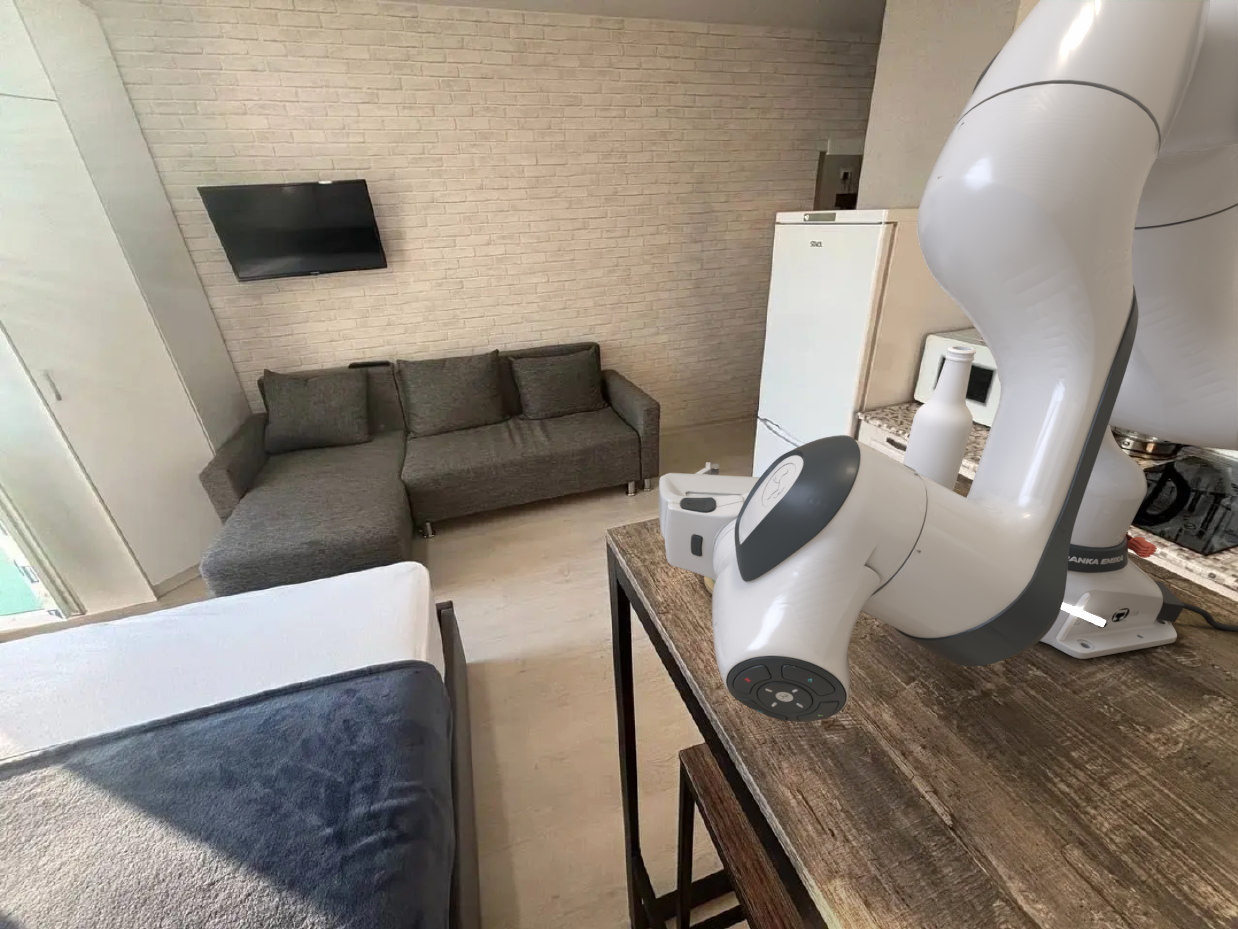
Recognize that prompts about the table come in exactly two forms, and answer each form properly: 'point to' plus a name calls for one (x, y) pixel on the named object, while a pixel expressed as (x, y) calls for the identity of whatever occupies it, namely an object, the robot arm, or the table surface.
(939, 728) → the table surface
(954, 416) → the alcohol
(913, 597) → the robot arm
